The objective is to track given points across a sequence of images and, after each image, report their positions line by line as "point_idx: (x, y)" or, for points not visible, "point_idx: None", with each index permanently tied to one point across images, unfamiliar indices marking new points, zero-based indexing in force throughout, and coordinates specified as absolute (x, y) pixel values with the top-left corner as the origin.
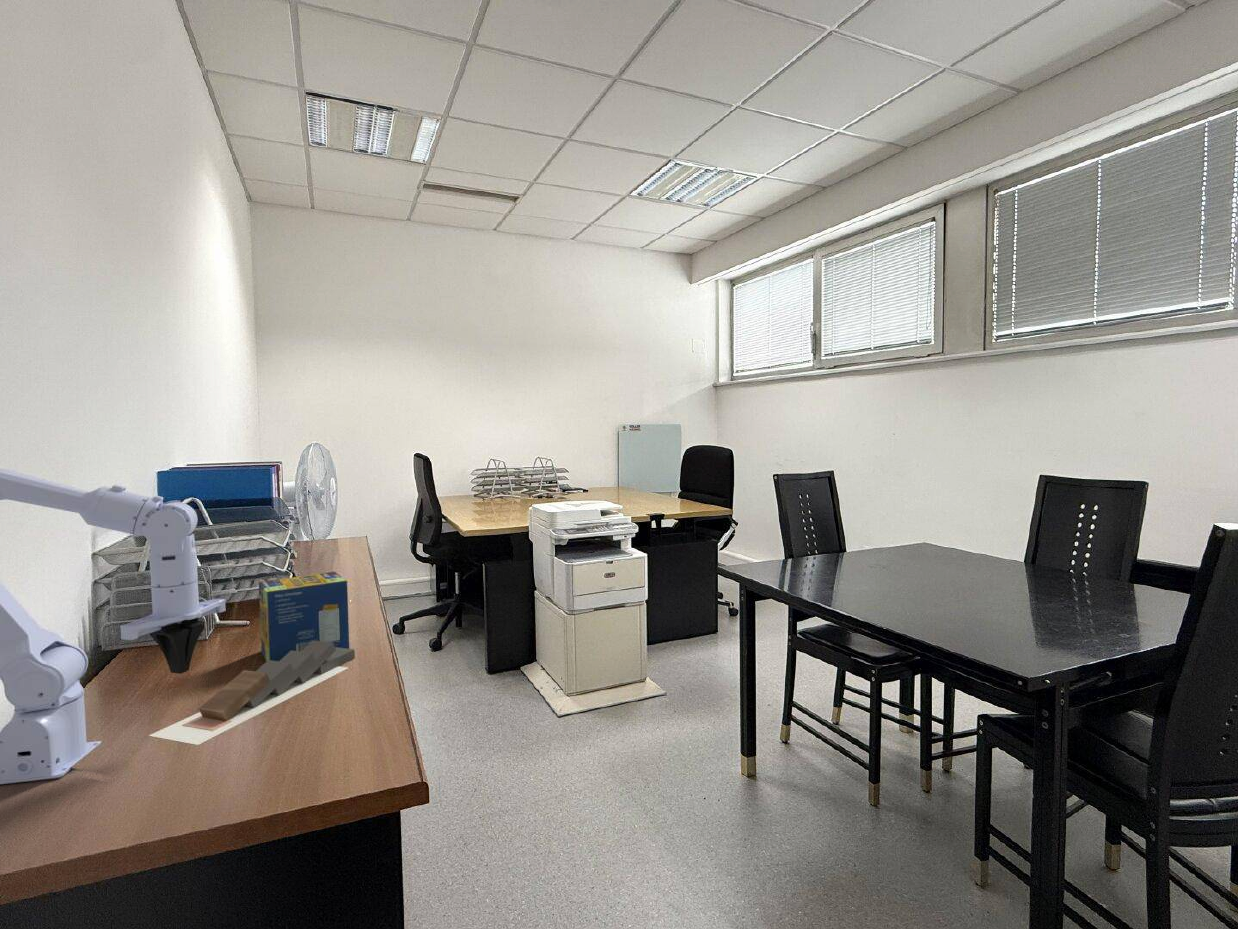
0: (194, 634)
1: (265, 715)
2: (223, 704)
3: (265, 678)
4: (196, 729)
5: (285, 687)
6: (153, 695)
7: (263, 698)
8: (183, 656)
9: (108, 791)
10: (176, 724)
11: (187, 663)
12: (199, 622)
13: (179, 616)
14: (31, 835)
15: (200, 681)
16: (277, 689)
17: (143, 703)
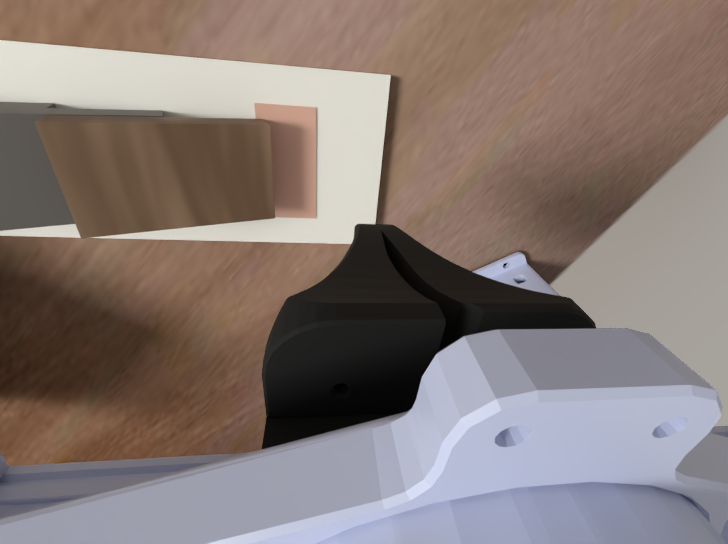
0: (375, 289)
1: (162, 46)
2: (241, 154)
3: (56, 119)
4: (322, 163)
5: (7, 103)
6: (224, 394)
7: (113, 109)
8: (407, 247)
9: (572, 111)
10: (315, 235)
11: (374, 231)
12: (312, 366)
13: (690, 478)
14: (709, 104)
15: (132, 379)
16: (42, 105)
17: (256, 380)
